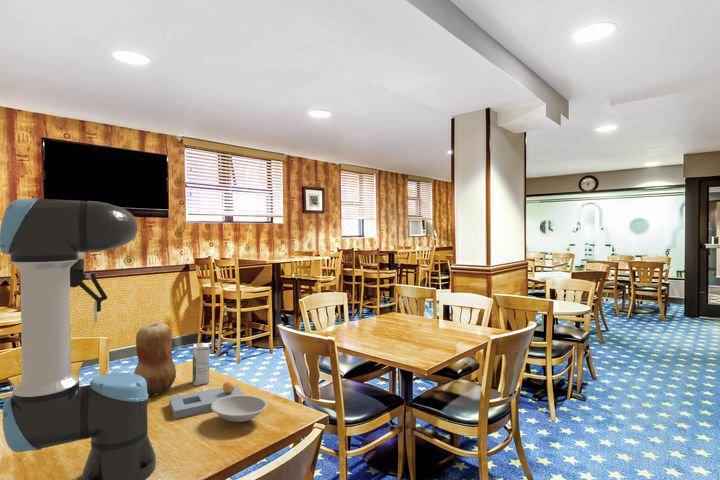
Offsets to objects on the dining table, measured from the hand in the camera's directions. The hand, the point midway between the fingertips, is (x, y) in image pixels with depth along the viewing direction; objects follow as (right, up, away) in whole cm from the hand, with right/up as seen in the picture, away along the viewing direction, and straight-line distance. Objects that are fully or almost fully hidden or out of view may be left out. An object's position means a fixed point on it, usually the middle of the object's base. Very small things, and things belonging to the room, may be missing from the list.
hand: (70, 324), depth 132 cm
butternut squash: (+21, -28, +14) cm, 37 cm away
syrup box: (+33, -28, +25) cm, 49 cm away
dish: (+57, -28, -7) cm, 64 cm away
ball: (+48, -23, +9) cm, 54 cm away
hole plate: (+43, -28, +5) cm, 51 cm away
